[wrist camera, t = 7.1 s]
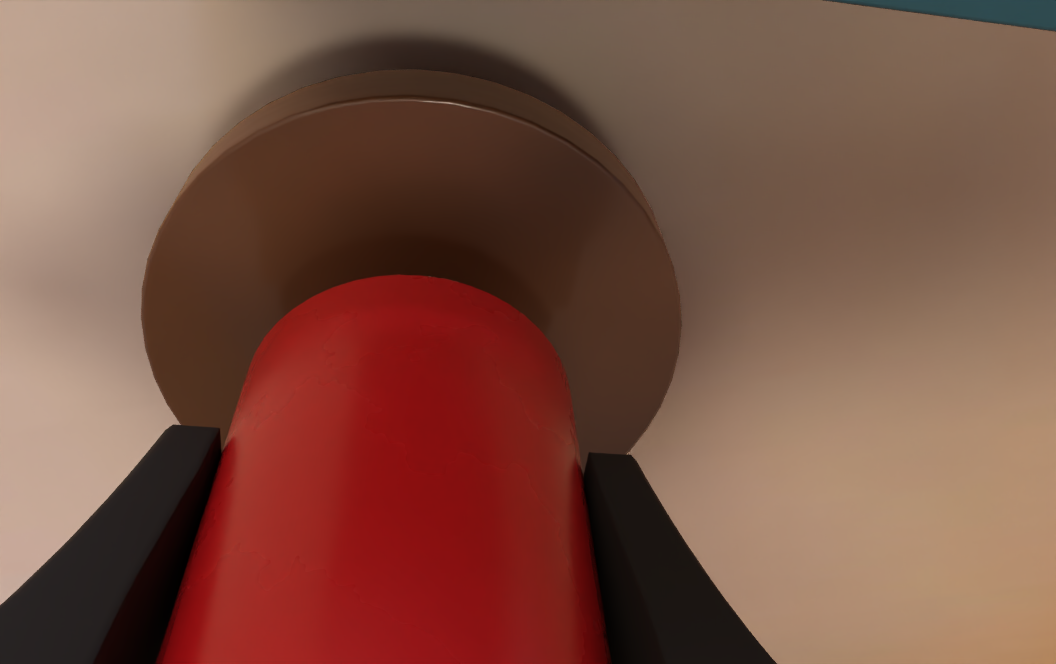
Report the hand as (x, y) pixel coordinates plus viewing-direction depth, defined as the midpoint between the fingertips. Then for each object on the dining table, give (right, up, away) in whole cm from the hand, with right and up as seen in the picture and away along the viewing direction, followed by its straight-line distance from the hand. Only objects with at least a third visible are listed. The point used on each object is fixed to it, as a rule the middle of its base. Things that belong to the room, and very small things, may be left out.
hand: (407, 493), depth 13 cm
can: (0, +1, +1) cm, 2 cm away
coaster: (0, +4, +6) cm, 7 cm away
